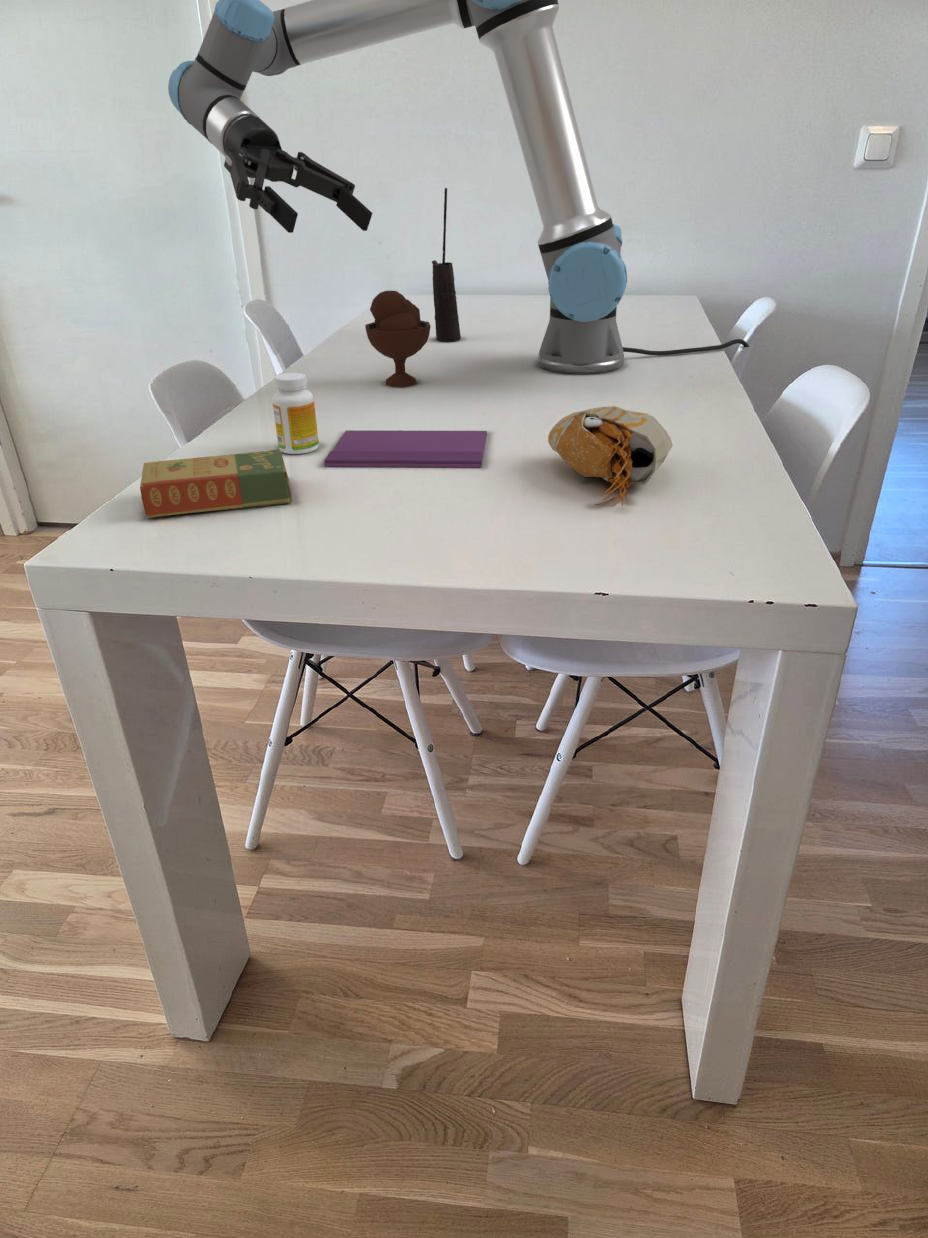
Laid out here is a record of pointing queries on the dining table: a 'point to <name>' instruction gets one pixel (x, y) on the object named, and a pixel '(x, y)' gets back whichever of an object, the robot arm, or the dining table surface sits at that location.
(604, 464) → the nautilus
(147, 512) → the carton
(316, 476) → the dining table surface
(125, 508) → the dining table surface
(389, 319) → the ice cream bowl
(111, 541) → the dining table surface
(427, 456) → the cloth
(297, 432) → the supplement bottle
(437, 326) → the butter churn
